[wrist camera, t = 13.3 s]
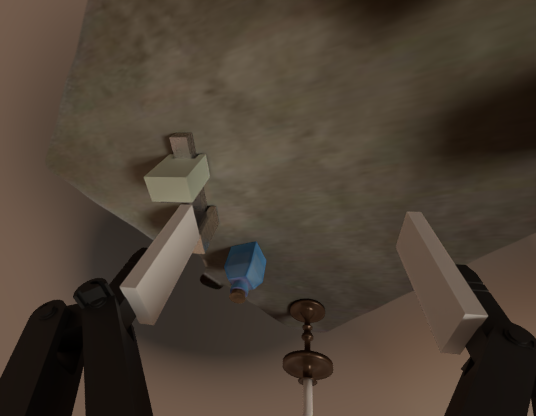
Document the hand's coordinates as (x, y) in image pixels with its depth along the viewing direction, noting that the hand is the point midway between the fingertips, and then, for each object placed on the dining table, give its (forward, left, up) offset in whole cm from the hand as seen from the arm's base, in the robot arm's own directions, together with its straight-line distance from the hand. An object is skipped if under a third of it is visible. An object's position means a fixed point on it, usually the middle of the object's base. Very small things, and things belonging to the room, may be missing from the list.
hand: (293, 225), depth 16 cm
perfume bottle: (+31, -11, -29) cm, 44 cm away
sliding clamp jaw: (+9, -20, -28) cm, 36 cm away
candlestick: (+50, +3, -29) cm, 58 cm away
